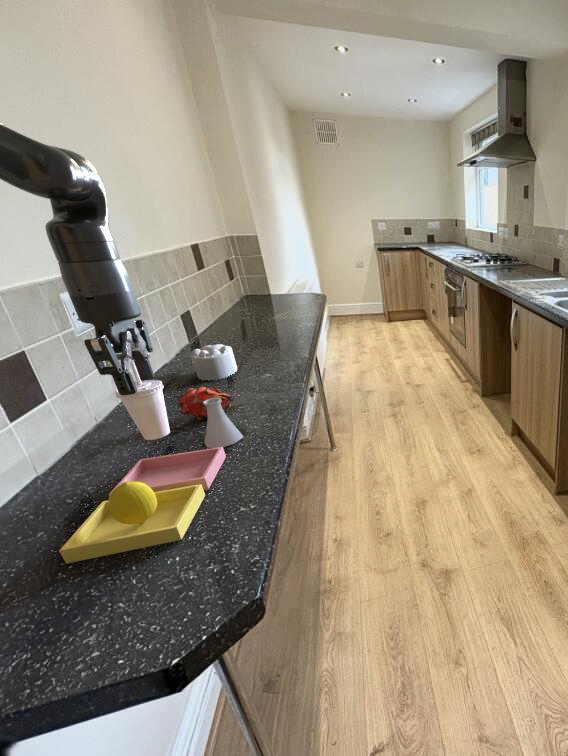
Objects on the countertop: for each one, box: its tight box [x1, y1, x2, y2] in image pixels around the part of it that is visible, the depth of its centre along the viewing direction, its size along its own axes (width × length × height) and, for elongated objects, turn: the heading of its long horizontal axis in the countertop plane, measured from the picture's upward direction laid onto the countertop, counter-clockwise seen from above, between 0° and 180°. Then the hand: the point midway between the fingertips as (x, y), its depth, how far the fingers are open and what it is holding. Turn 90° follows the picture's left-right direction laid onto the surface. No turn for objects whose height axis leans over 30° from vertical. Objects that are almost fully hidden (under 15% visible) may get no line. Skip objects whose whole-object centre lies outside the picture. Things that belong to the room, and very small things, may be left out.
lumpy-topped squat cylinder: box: [190, 343, 238, 382], centre depth 130 cm, size 10×13×9 cm
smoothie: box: [114, 360, 171, 441], centre depth 72 cm, size 6×6×14 cm
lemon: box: [107, 482, 157, 525], centre depth 65 cm, size 6×6×8 cm
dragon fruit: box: [176, 386, 235, 421], centre depth 102 cm, size 8×8×12 cm
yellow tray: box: [58, 484, 206, 565], centre depth 66 cm, size 14×12×2 cm
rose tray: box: [108, 447, 227, 497], centre depth 78 cm, size 14×12×2 cm
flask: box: [203, 398, 244, 449], centre depth 90 cm, size 7×7×10 cm
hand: (138, 386), depth 71 cm, fingers closed on smoothie, 6 cm apart
